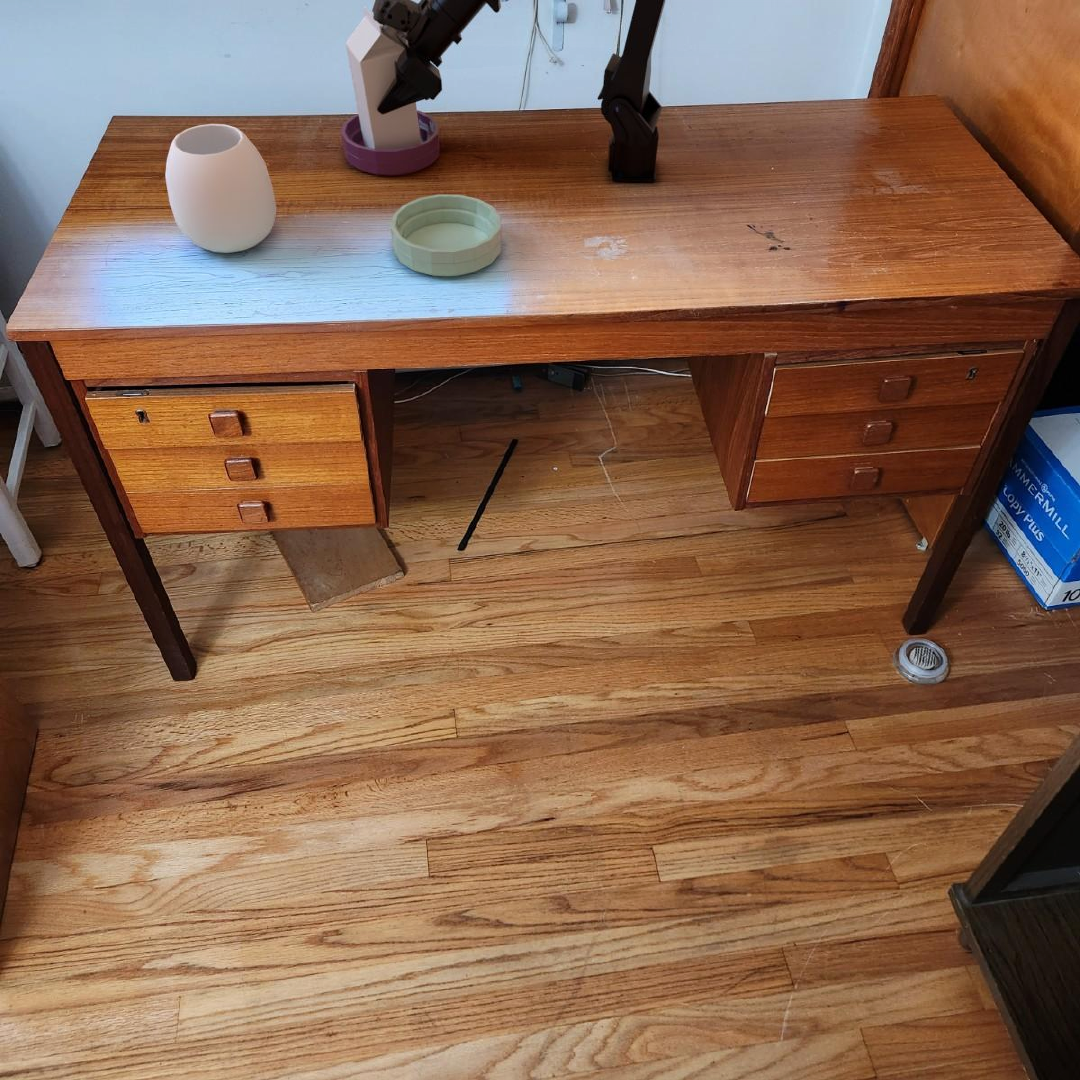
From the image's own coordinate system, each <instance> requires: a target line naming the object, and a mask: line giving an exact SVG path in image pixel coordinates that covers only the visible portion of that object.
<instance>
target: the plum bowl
mask: <svg viewBox="0 0 1080 1080" xmlns="http://www.w3.org/2000/svg"><path fill="white" fill-rule="evenodd" d="M417 115H418V123H419V130H420V138H421V143H420V144H418V145H415V146H413V147H408V148H402V149H396V150H382V149H372V148H368V147H365V146H364V142H363V136H362V131H361V125H360V120H359V114H358V113H357V114H354V115H352V116H351V117H350V118H348V119H347V120H346V121H345V122H344V123H342V127H341V132H340V136H341V143H342V150H343V151H342V152H343V156H344V157H345V159H346V160H347V163H348V164H349V165H351V167H352V166H353V167H354V168H356V169H358V170H359V171H362V172H365V173H368V174H372V175H378V176H389V177H390V176H402V175H408V174H412V173H415V172H418V171H421V170H423V169H425V168H427V167H429V166H431V165H432V164H433V163H434V162H436V160H437V159H438V158H439V157H440V153H441V139H440V138H441V136H440V125H439V123H438V122H437V121H436V118H434V117H433V116H432V115H429V114H427V113H425V112H423V111H421V110H418V109H417Z"/></svg>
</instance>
